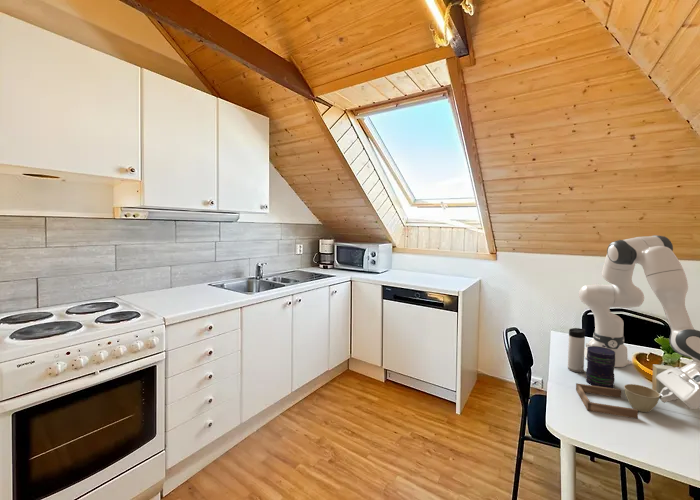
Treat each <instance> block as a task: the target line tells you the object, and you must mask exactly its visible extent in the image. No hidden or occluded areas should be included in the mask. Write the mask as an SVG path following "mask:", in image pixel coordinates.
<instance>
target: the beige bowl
mask: <svg viewBox="0 0 700 500" xmlns="http://www.w3.org/2000/svg"><path fill="white" fill-rule="evenodd" d="M623 388H624V394H625V396H626V399H627V402H628V403H629V404H630V406H631V408H632V409H637V410H638V412H642V413H650V412H651V411H652V410H653V409H654V408H655V407H656V405H657V404H658V402H659V401H660V399H659V398H660V394H659V393H658V392H657V391H655V390H653V389H652V388H651V387H647V386H644V385H639V384H634V383H633V384H632V383H630V384H625V385H624V386H623Z"/></svg>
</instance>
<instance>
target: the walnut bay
mask: <svg viewBox="0 0 700 500" xmlns="http://www.w3.org/2000/svg"><path fill="white" fill-rule="evenodd" d="M575 391H576V392H577V395H578V396H579V399H580V400H581V402H582V403H583V405H584V407H585V409H586V411H588V412H593V413H600V414H607V415H611V416H612V415H613V416H618V417H625V418H632V419H637V420H638V418H639V411H638V410H637V409H634V408H633V407H624V406H618V405H612V404H605V403H600V402H599V403H598V402H592V401H590V400H589V398H588V395H586V393H587V394H593V395H599V396H607V397H613V398H620V399H621V398H622V390H621V389H620V388H615V387H614V388H607V387H599V386H592V385H590V384H583V383H579V382H578V383H577V382H576V383H575Z"/></svg>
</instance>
